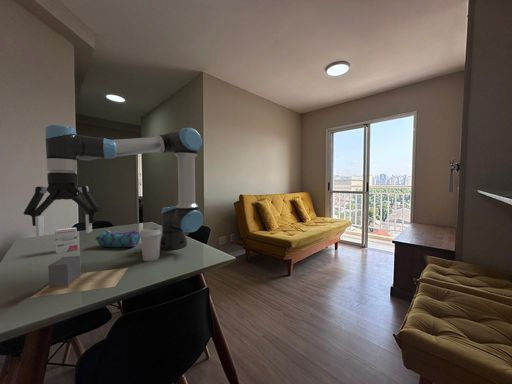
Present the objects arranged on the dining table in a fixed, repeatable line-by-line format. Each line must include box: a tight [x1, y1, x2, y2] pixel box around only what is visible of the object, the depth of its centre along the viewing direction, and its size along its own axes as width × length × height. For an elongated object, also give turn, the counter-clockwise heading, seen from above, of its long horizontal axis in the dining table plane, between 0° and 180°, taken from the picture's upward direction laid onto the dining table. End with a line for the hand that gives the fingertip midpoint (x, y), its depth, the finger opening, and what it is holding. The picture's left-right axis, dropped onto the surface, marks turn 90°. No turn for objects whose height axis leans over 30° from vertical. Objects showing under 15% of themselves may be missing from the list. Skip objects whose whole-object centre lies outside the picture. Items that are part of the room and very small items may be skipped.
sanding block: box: [47, 255, 81, 290], centre depth 71 cm, size 8×5×8 cm, turn 18°
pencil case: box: [94, 229, 141, 248], centre depth 116 cm, size 21×9×10 cm, turn 87°
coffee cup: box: [138, 227, 162, 262], centre depth 94 cm, size 10×10×15 cm
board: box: [30, 267, 129, 299], centre depth 73 cm, size 22×16×2 cm
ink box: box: [54, 226, 78, 254], centre depth 109 cm, size 8×5×12 cm, turn 133°
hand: (65, 233), depth 70 cm, fingers open, 13 cm apart
